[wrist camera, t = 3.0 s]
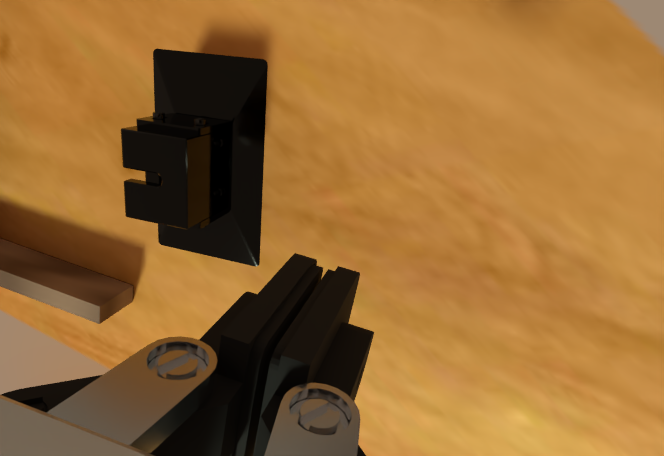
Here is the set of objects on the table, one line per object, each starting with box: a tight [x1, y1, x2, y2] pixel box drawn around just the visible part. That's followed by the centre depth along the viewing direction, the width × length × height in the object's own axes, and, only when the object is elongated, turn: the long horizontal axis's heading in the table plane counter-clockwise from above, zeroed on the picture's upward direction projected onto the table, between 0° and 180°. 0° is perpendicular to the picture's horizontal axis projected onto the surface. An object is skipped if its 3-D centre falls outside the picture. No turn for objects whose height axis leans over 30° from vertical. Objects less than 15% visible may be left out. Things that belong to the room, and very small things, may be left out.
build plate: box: [121, 49, 267, 266], centre depth 21 cm, size 12×7×5 cm, turn 175°
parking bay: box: [0, 238, 133, 324], centre depth 23 cm, size 10×18×2 cm, turn 169°
